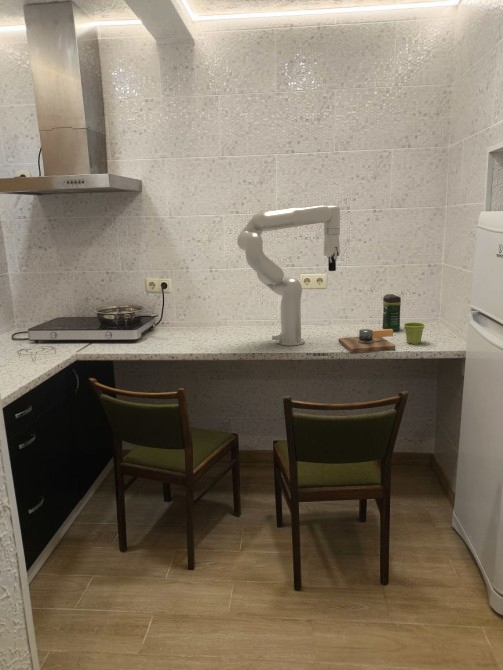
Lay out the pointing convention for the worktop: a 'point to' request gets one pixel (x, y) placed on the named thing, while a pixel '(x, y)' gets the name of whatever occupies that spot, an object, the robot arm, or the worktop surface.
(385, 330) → the portafilter
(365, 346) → the wooden cutting board
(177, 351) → the worktop surface
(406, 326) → the plant pot
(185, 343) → the worktop surface
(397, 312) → the coffee jar
